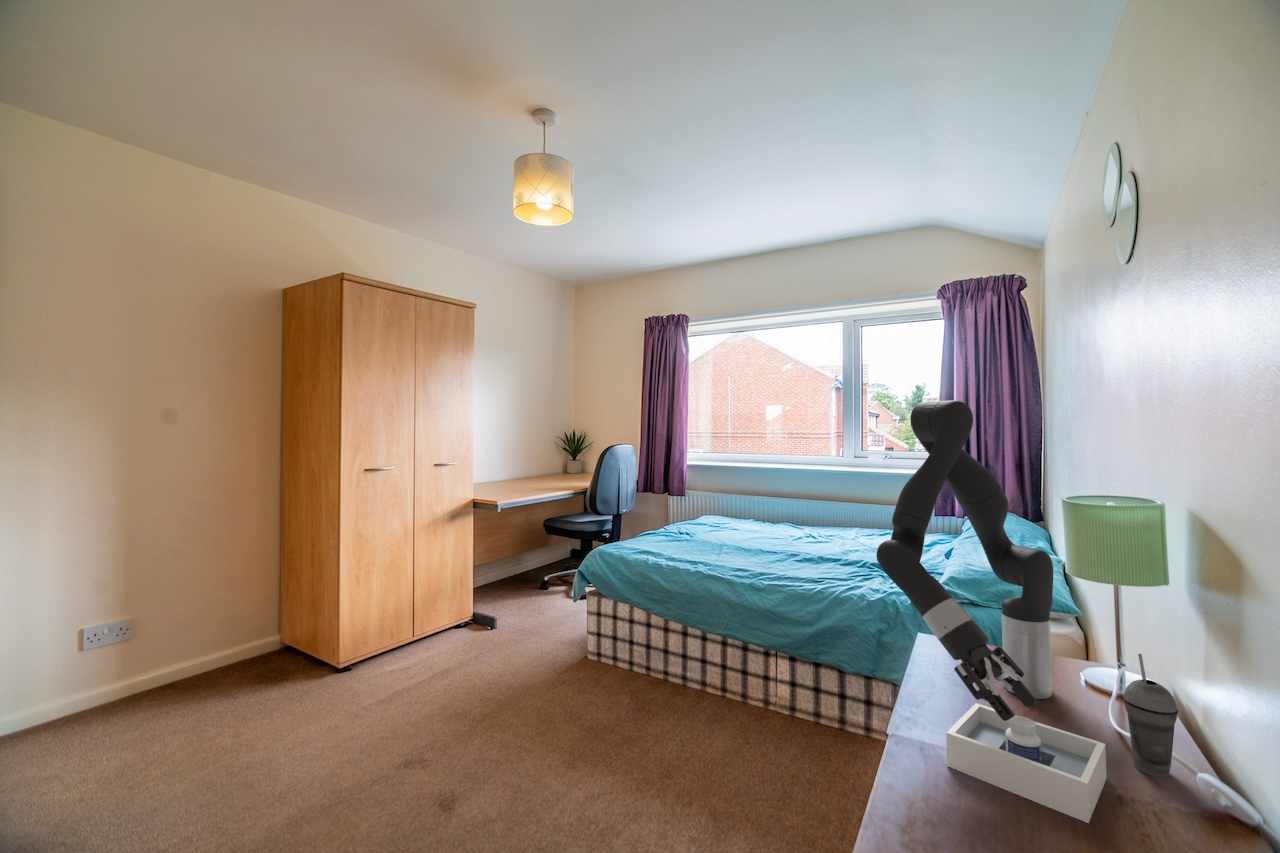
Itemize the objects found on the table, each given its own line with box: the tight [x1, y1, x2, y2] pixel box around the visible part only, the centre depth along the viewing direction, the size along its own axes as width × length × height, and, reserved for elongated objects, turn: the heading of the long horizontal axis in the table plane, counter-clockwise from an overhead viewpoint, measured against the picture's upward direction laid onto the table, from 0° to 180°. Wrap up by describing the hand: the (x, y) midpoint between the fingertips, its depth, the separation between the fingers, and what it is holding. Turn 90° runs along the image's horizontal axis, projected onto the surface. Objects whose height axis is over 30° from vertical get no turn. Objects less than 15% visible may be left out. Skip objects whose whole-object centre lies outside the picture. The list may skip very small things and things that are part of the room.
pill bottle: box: [1005, 715, 1042, 764], centre depth 97 cm, size 5×5×9 cm
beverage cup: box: [1122, 653, 1179, 779], centre depth 97 cm, size 7×7×20 cm
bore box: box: [945, 702, 1107, 824], centre depth 97 cm, size 16×20×6 cm
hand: (1021, 711), depth 97 cm, fingers open, 8 cm apart
